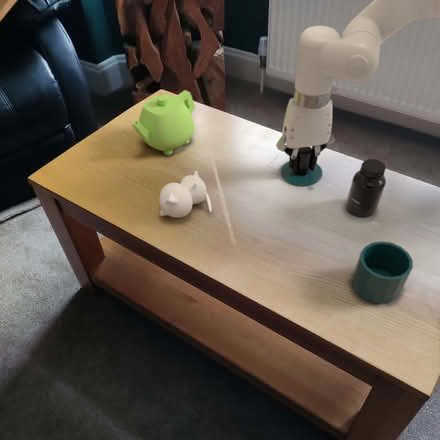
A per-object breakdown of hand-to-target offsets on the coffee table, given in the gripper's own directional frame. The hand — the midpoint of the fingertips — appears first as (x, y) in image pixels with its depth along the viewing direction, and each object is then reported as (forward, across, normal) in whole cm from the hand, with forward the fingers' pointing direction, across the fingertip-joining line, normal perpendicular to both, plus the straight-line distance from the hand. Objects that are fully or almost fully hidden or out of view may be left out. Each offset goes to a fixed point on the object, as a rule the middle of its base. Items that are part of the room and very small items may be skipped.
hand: (302, 167), depth 104 cm
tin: (+2, -5, +36) cm, 36 cm away
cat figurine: (+2, +29, +7) cm, 30 cm away
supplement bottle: (+2, -10, +15) cm, 18 cm away
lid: (+1, 0, 0) cm, 1 cm away
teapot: (+2, +31, -21) cm, 38 cm away
